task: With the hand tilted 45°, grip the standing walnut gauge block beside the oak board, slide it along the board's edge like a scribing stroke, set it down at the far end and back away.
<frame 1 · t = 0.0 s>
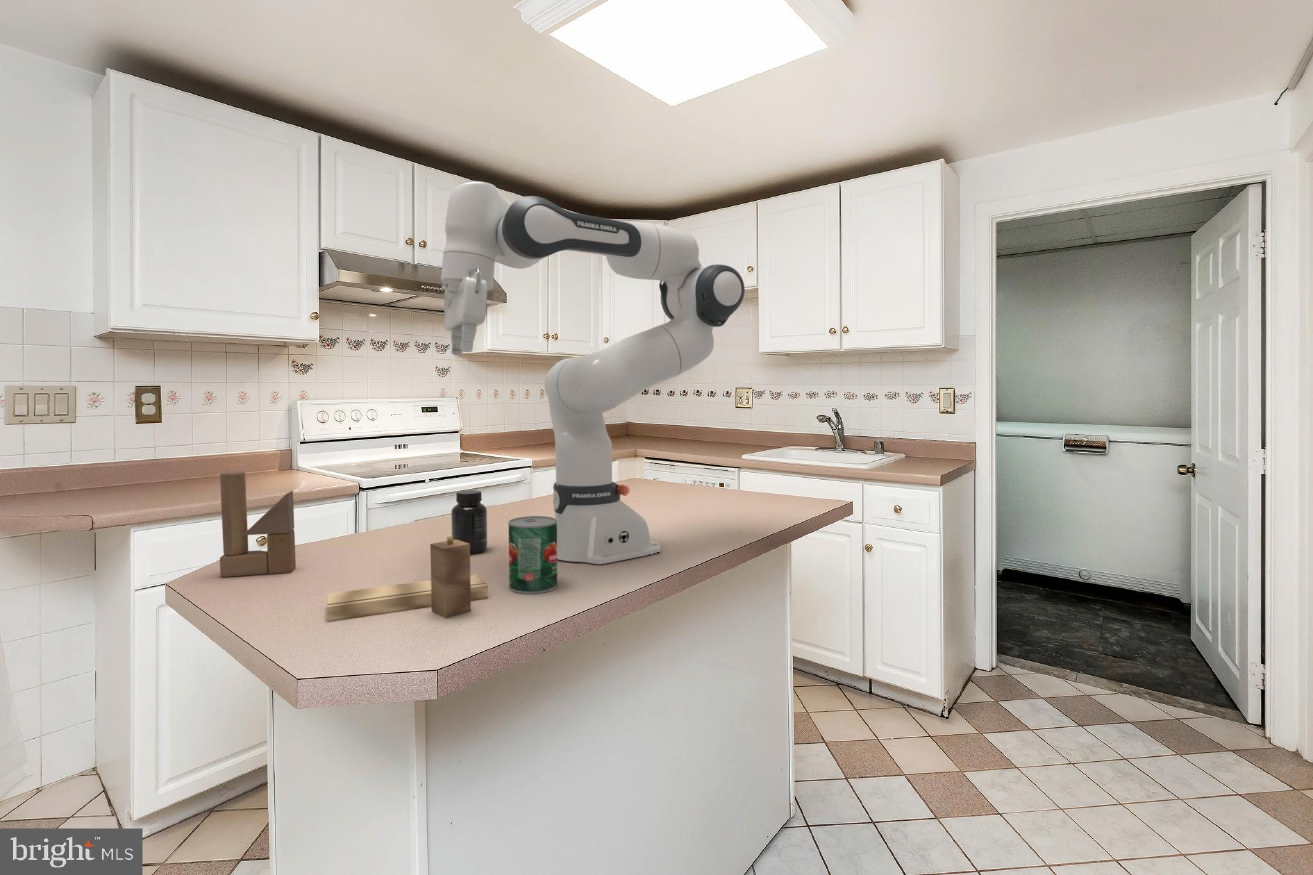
hand: (461, 353, 109), 39 cm above the countertop, tool pointing down, fingers open, 8 cm apart
supplement bottle: (469, 551, 124), on the countertop
board: (409, 602, 94), on the countertop
canned tomato: (533, 587, 102), on the countertop
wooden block: (259, 573, 109), on the countertop
gauge block: (451, 611, 90), on the countertop
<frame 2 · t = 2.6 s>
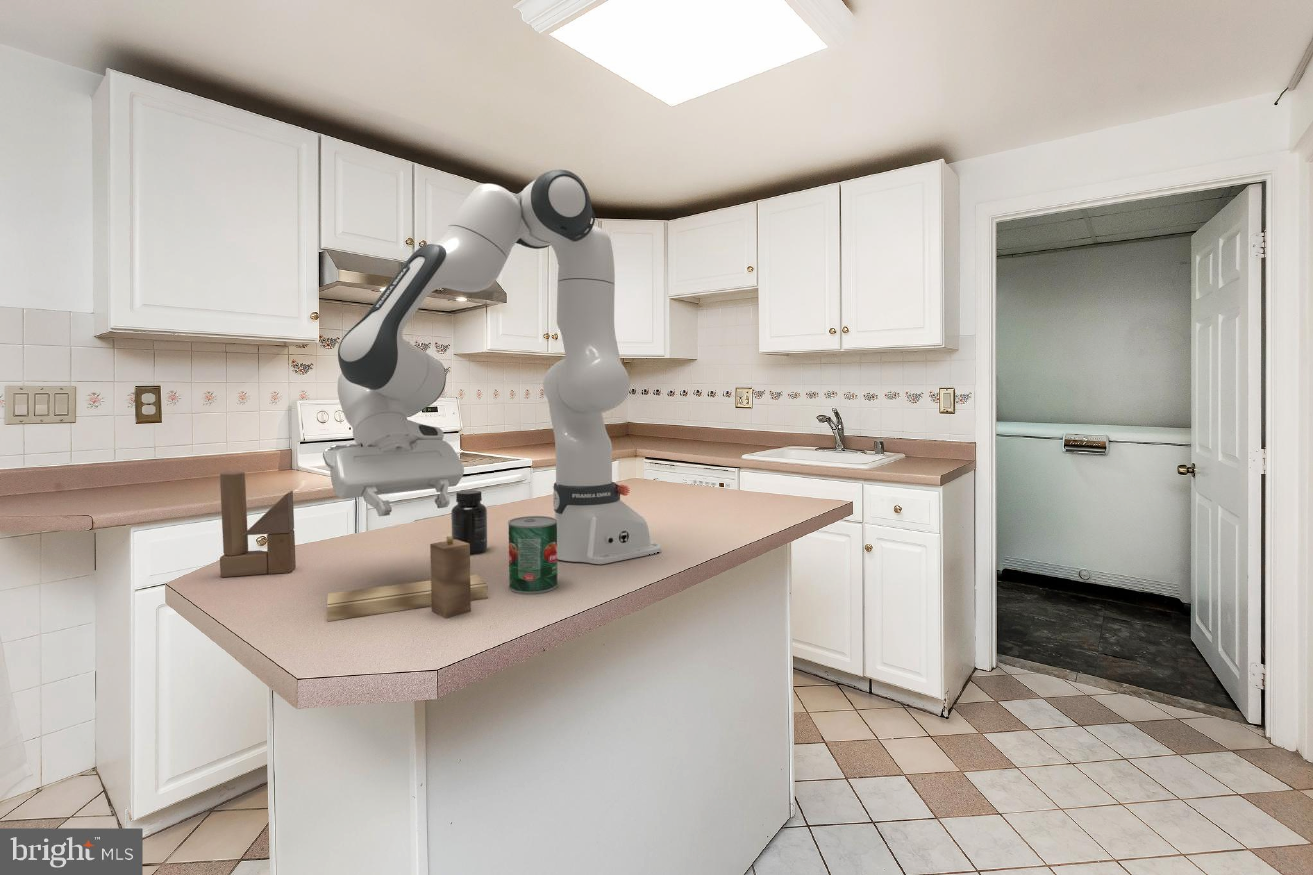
hand: (416, 509, 96), 14 cm above the countertop, tool tilted 45°, fingers open, 8 cm apart
nothing on the countertop moved.
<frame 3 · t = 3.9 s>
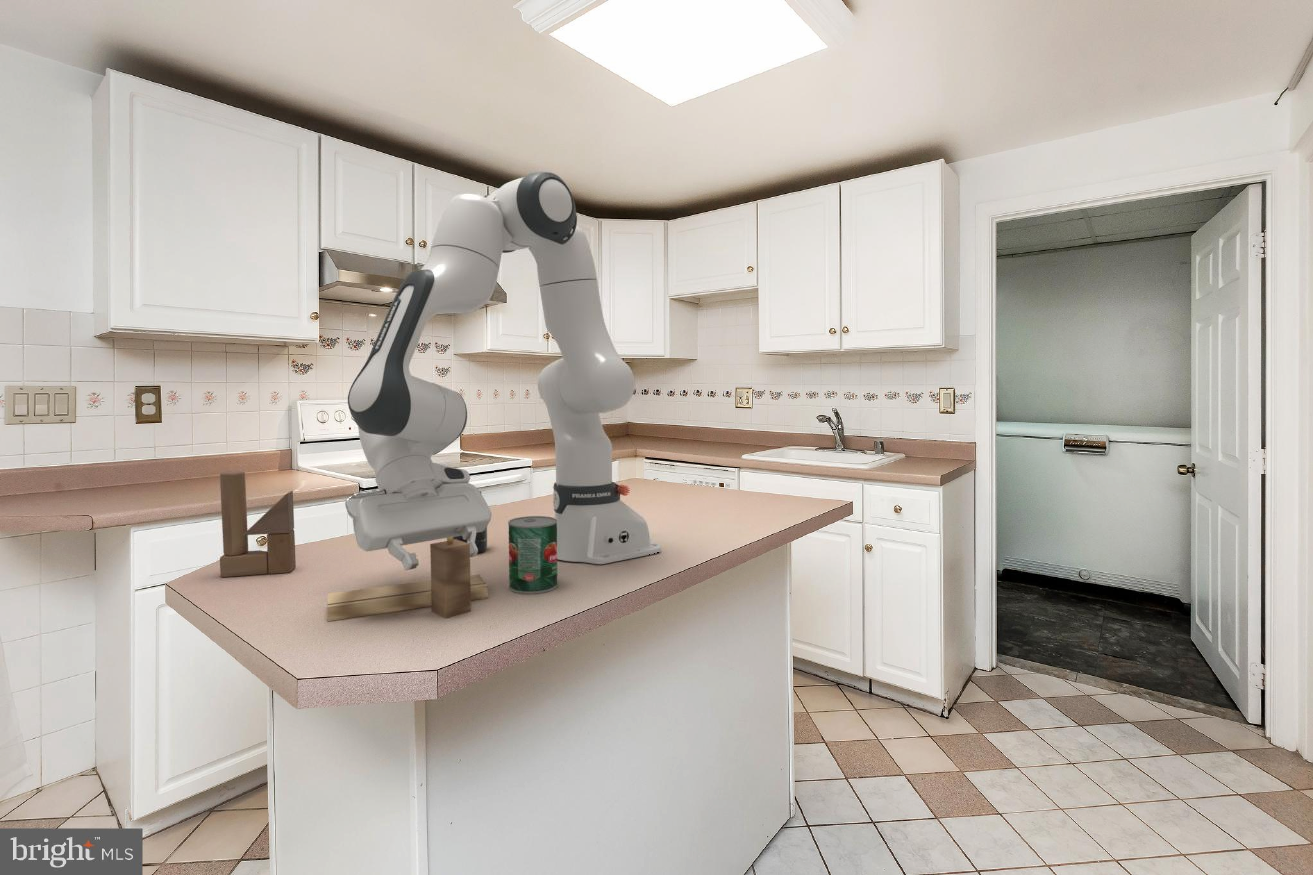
hand: (443, 561, 91), 7 cm above the countertop, tool tilted 45°, fingers open, 8 cm apart
nothing on the countertop moved.
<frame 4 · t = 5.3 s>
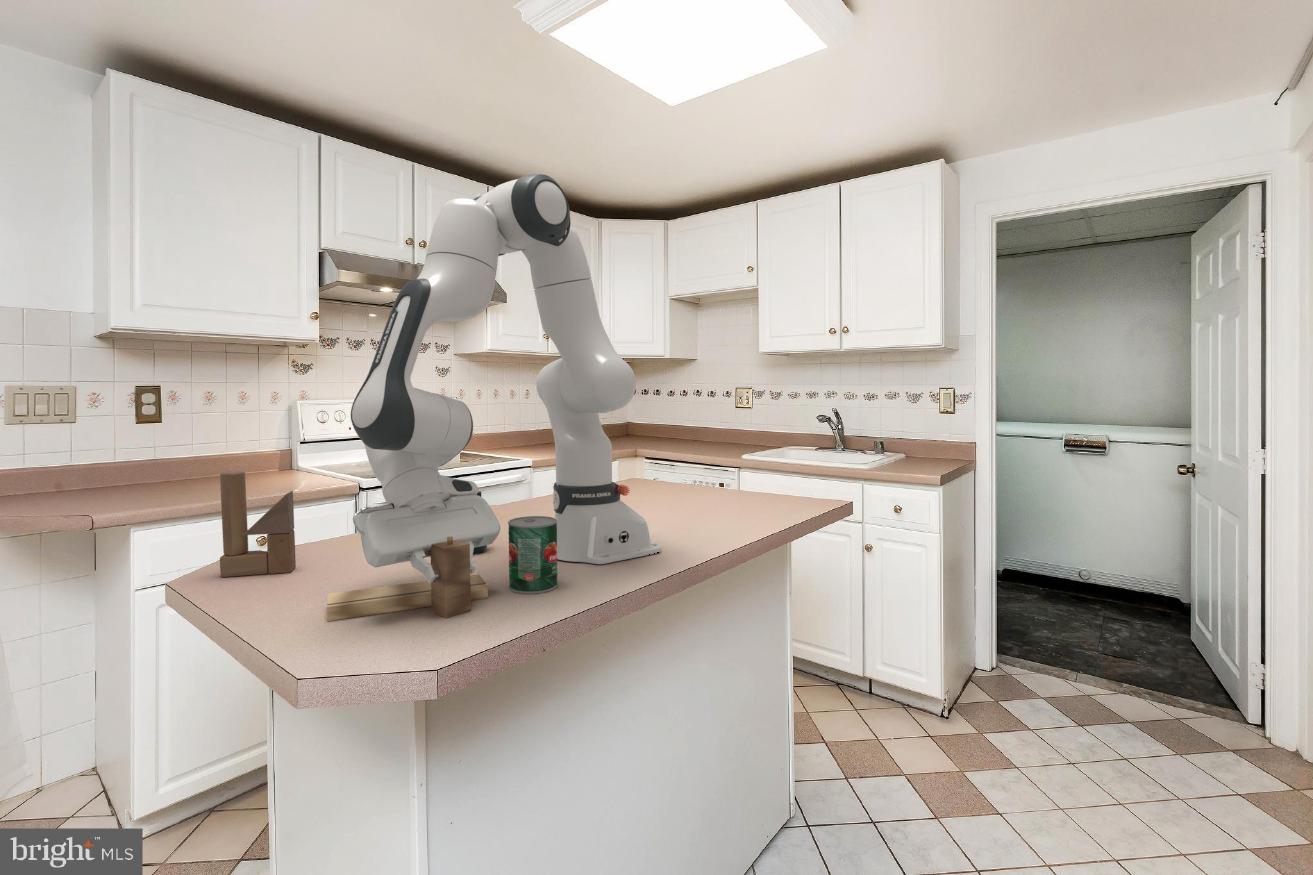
hand: (452, 575, 89), 5 cm above the countertop, tool tilted 45°, fingers closed on gauge block, 4 cm apart
gauge block: (451, 611, 90), on the countertop, touching gripper
everything else where it was.
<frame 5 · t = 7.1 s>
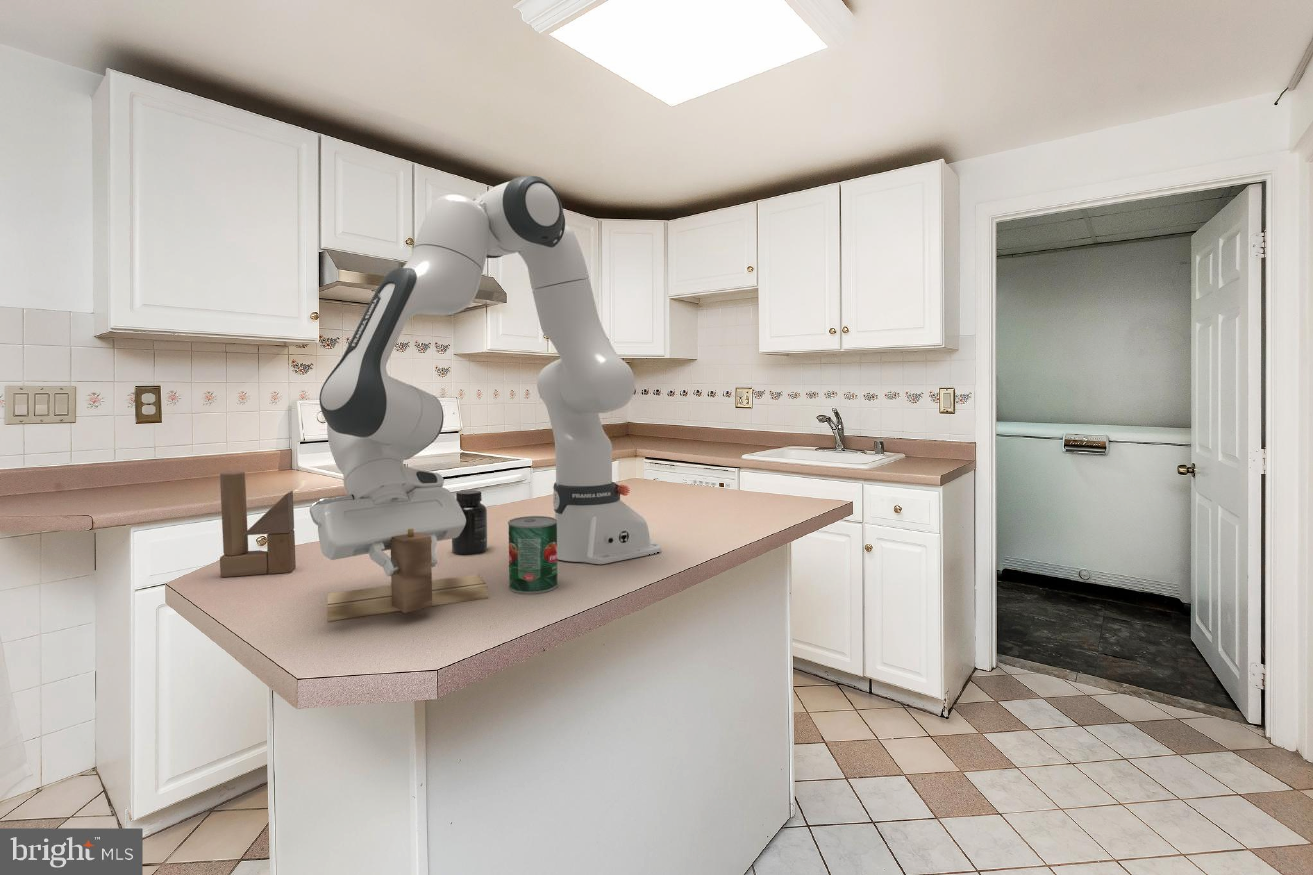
hand: (413, 569, 87), 7 cm above the countertop, tool tilted 45°, fingers closed on gauge block, 4 cm apart
gauge block: (412, 605, 87), point 2 cm above the countertop, touching gripper
everything else where it was.
when the fingers open (6 cm above the countertop, at t = 9.2 s): gauge block stays where it is, on the countertop.
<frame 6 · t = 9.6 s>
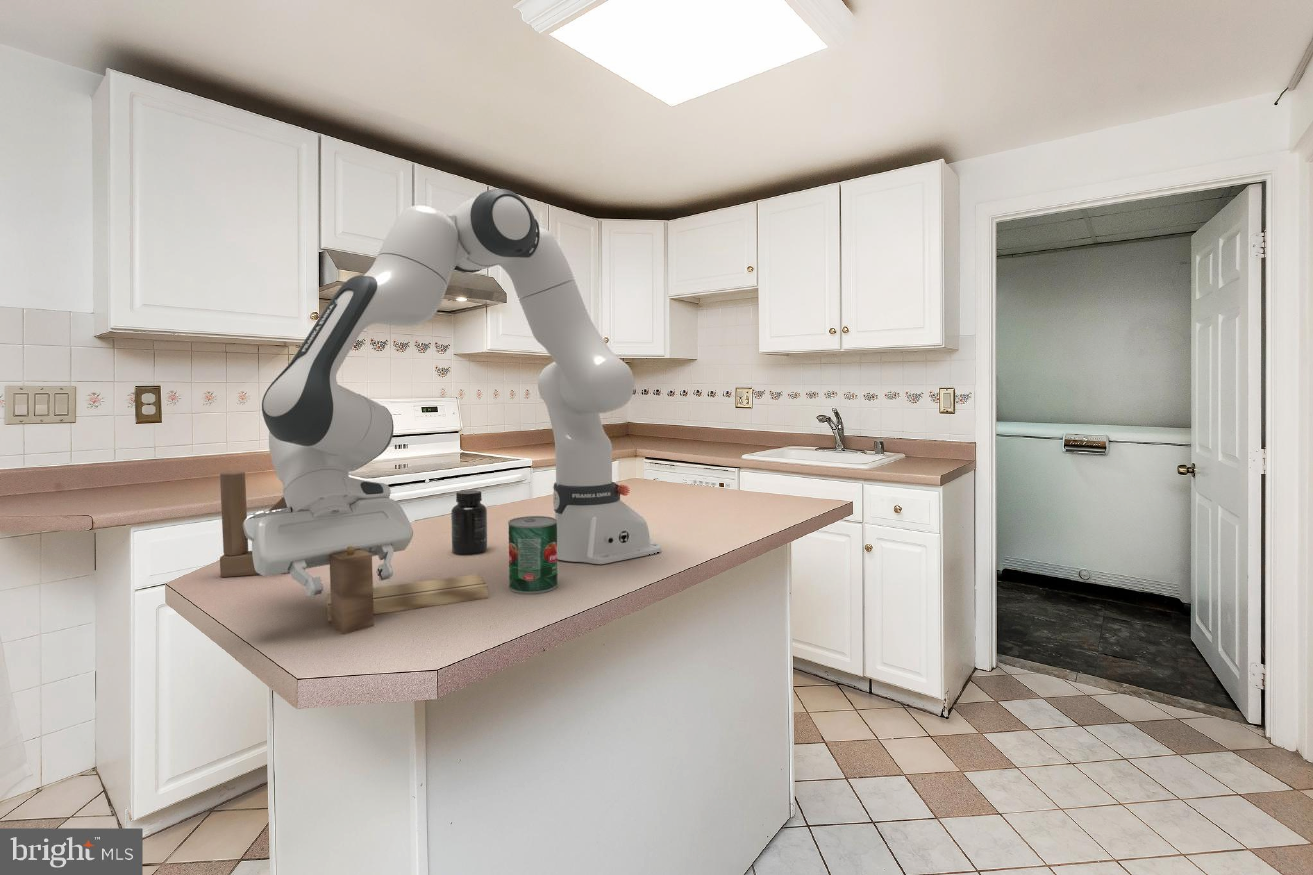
hand: (353, 584, 83), 6 cm above the countertop, tool tilted 45°, fingers open, 8 cm apart
gauge block: (352, 626, 84), on the countertop
everything else where it was.
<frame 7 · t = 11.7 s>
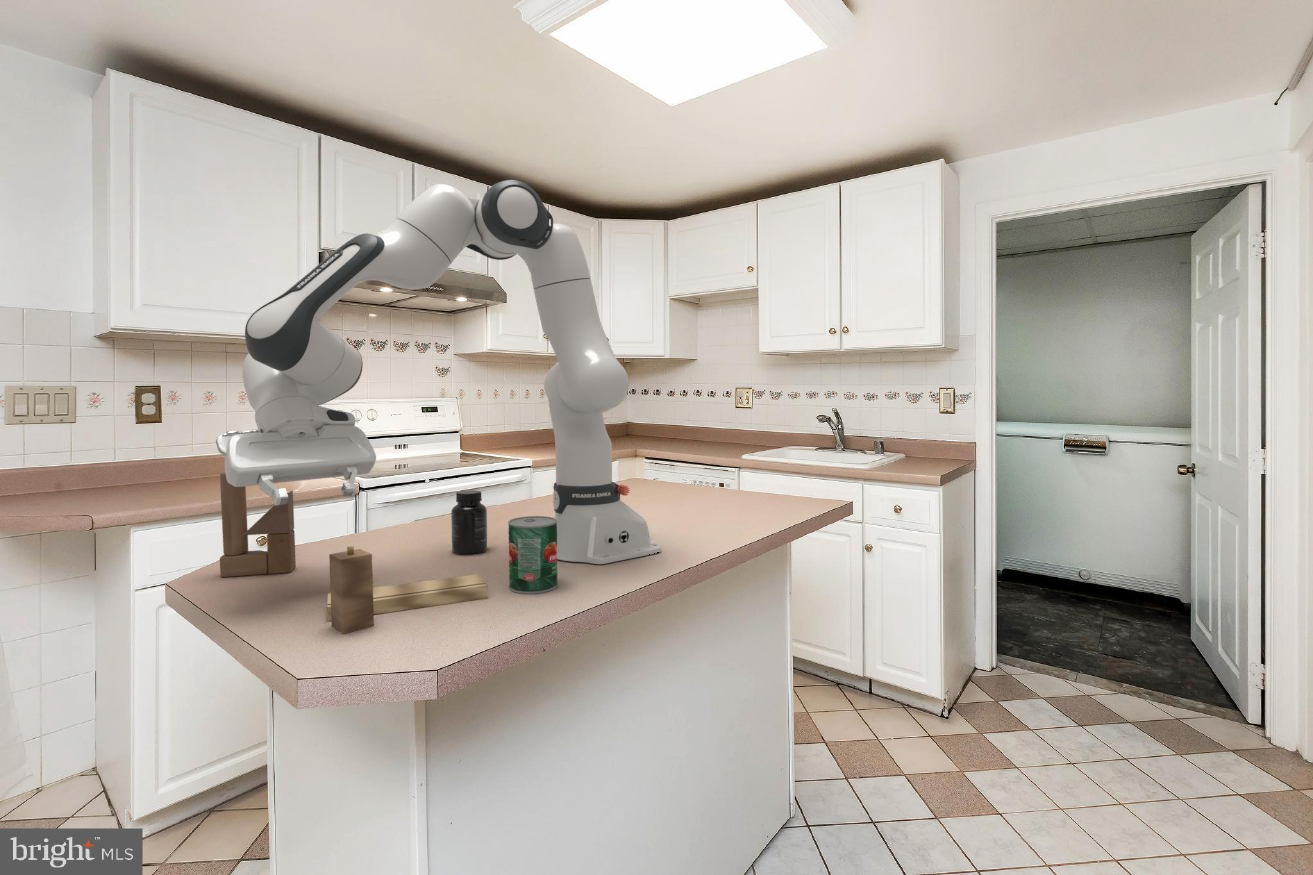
hand: (317, 498, 91), 16 cm above the countertop, tool tilted 45°, fingers open, 8 cm apart
nothing on the countertop moved.
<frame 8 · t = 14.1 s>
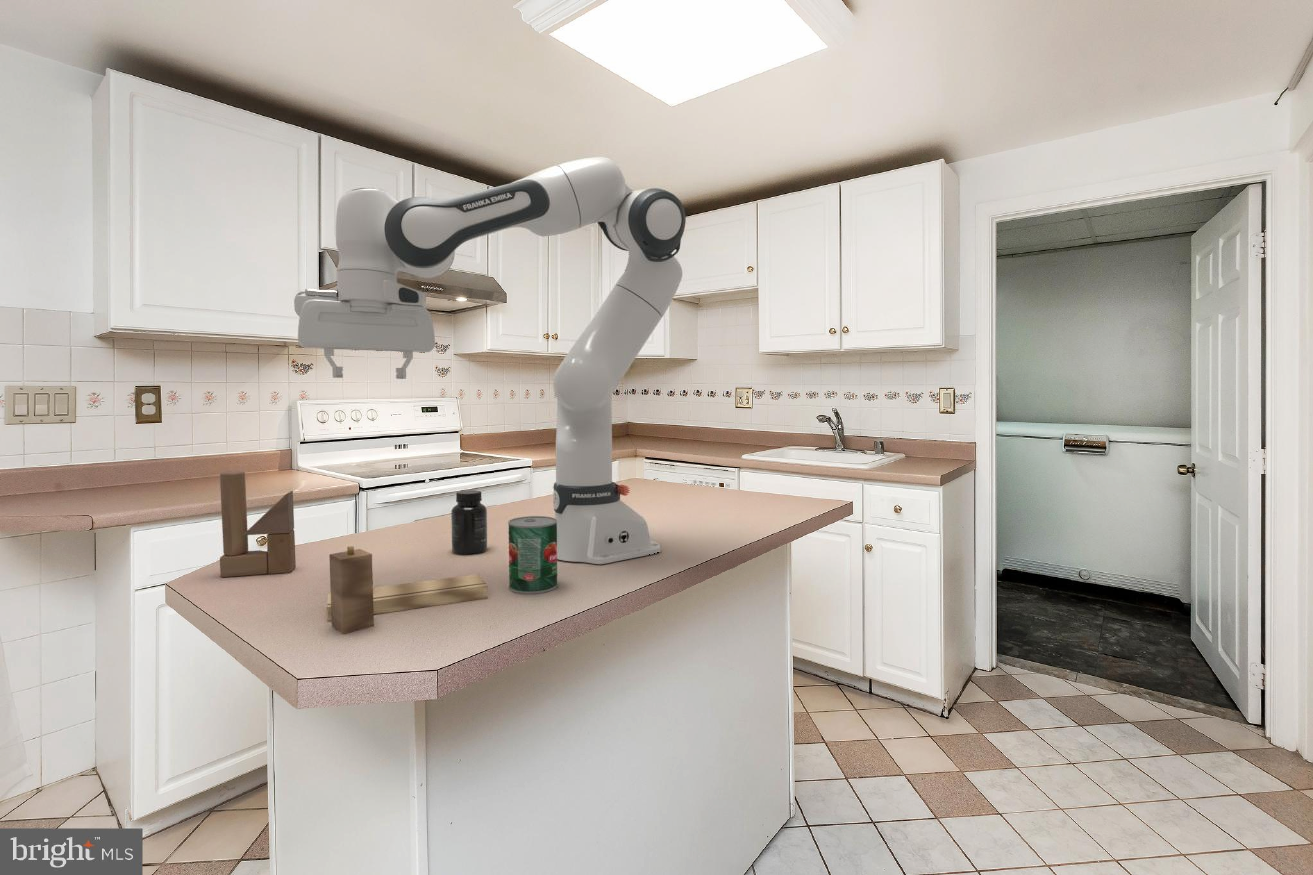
hand: (370, 378, 101), 34 cm above the countertop, tool pointing down, fingers open, 8 cm apart
nothing on the countertop moved.
at the end: gauge block inside the target area (0.7 cm from its centre), on the countertop; gauge block tilted 0°; the gripper is holding nothing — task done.
